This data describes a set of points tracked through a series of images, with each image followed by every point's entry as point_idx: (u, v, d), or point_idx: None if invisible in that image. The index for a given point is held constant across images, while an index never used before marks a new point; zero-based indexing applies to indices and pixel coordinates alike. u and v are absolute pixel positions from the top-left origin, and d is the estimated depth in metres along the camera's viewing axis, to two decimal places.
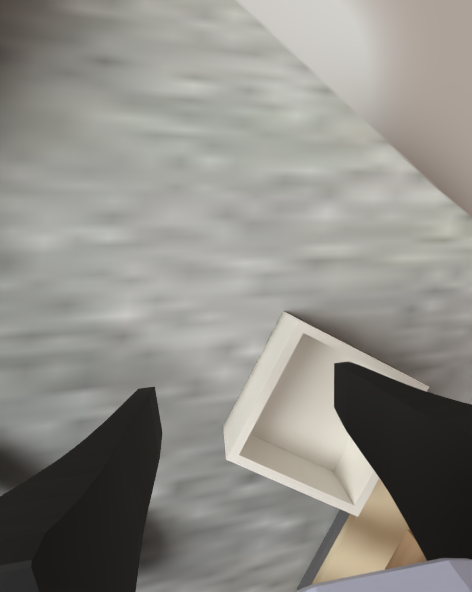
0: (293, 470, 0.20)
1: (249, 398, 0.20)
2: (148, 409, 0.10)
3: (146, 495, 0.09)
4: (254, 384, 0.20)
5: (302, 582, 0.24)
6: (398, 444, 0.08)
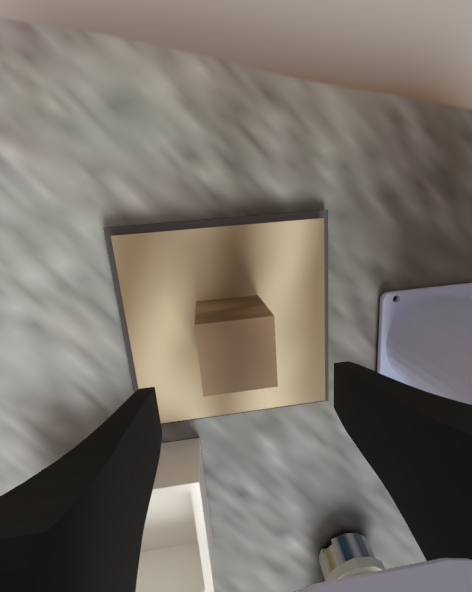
0: None
1: None
2: (148, 409, 0.10)
3: (146, 495, 0.09)
4: None
5: None
6: (398, 444, 0.08)
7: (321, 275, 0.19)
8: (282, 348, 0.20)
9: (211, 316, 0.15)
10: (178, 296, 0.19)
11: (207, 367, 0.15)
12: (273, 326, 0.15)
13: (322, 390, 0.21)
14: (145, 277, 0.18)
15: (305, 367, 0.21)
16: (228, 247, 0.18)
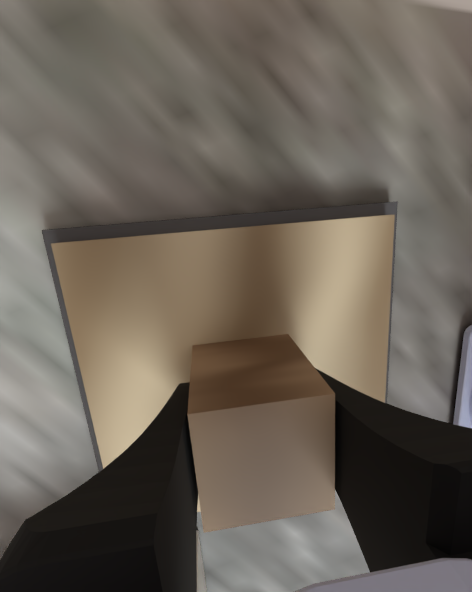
0: None
1: None
2: None
3: (196, 487, 0.09)
4: None
5: None
6: (346, 452, 0.08)
7: (385, 303, 0.13)
8: None
9: (217, 389, 0.09)
10: (164, 338, 0.12)
11: (212, 485, 0.08)
12: (332, 411, 0.08)
13: None
14: (110, 309, 0.11)
15: None
16: (243, 261, 0.11)
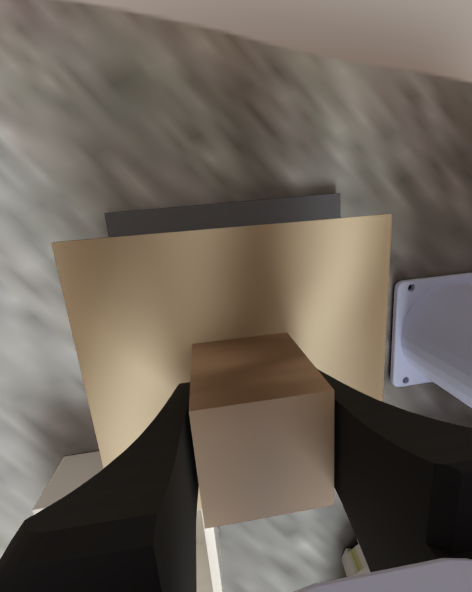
0: None
1: None
2: None
3: (196, 487, 0.09)
4: None
5: None
6: (346, 452, 0.08)
7: (383, 301, 0.13)
8: None
9: (218, 387, 0.09)
10: (164, 336, 0.12)
11: (213, 482, 0.08)
12: (331, 408, 0.08)
13: None
14: (110, 308, 0.11)
15: None
16: (243, 260, 0.11)
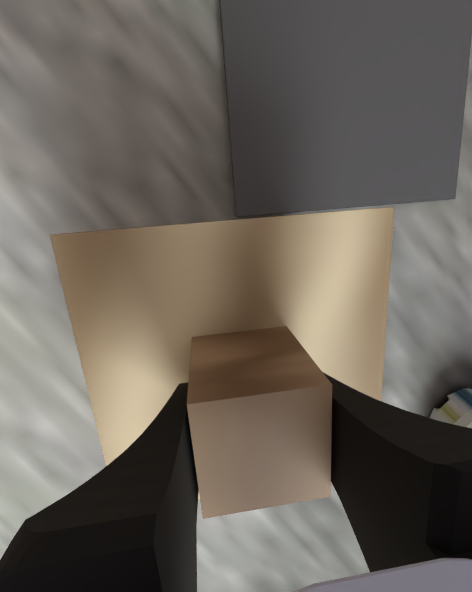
0: None
1: None
2: None
3: (196, 487, 0.09)
4: None
5: None
6: (346, 452, 0.08)
7: (383, 295, 0.13)
8: None
9: (216, 380, 0.09)
10: (163, 329, 0.12)
11: (211, 473, 0.08)
12: (329, 402, 0.08)
13: None
14: (110, 301, 0.11)
15: None
16: (242, 253, 0.11)
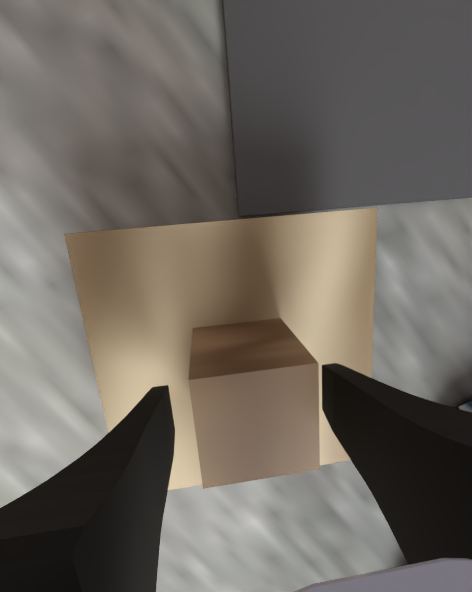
0: None
1: None
2: (163, 407, 0.10)
3: (163, 492, 0.09)
4: None
5: (455, 198, 0.18)
6: (381, 447, 0.08)
7: (370, 289, 0.14)
8: None
9: (214, 361, 0.10)
10: (167, 321, 0.13)
11: (210, 445, 0.09)
12: (316, 379, 0.09)
13: None
14: (117, 294, 0.12)
15: None
16: (239, 250, 0.12)
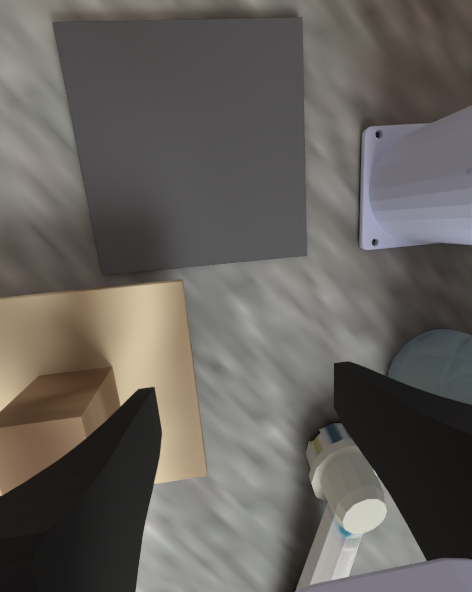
0: None
1: None
2: (148, 409, 0.10)
3: (146, 495, 0.09)
4: None
5: (294, 256, 0.21)
6: (398, 444, 0.08)
7: (186, 343, 0.17)
8: None
9: (16, 412, 0.13)
10: (16, 371, 0.16)
11: (6, 476, 0.13)
12: (82, 428, 0.13)
13: (202, 465, 0.19)
14: None
15: (179, 442, 0.18)
16: (69, 316, 0.16)
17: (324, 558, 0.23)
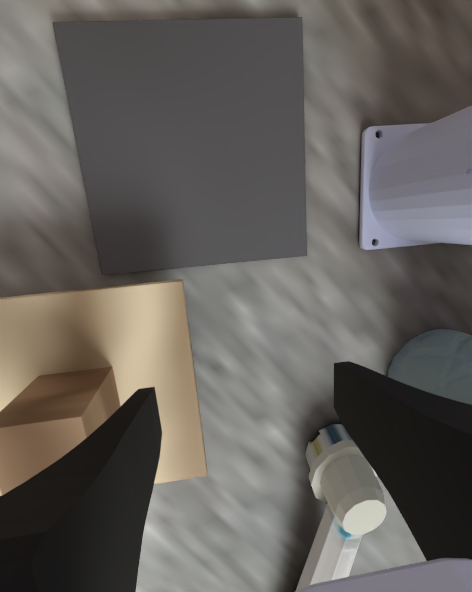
0: None
1: None
2: (148, 409, 0.10)
3: (146, 495, 0.09)
4: None
5: (294, 256, 0.21)
6: (398, 444, 0.08)
7: (186, 343, 0.17)
8: None
9: (16, 412, 0.13)
10: (16, 370, 0.16)
11: (6, 476, 0.13)
12: (82, 428, 0.13)
13: (202, 465, 0.19)
14: None
15: (179, 442, 0.18)
16: (69, 316, 0.16)
17: (324, 559, 0.23)
